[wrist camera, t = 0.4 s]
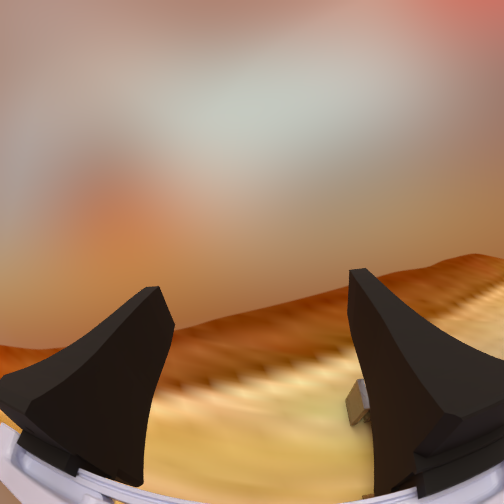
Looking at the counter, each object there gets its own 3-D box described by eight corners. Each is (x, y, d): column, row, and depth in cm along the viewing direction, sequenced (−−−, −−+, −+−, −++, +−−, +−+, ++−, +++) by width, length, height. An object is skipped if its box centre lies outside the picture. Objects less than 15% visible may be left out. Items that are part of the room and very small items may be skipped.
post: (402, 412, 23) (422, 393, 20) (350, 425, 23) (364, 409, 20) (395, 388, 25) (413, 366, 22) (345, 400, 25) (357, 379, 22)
